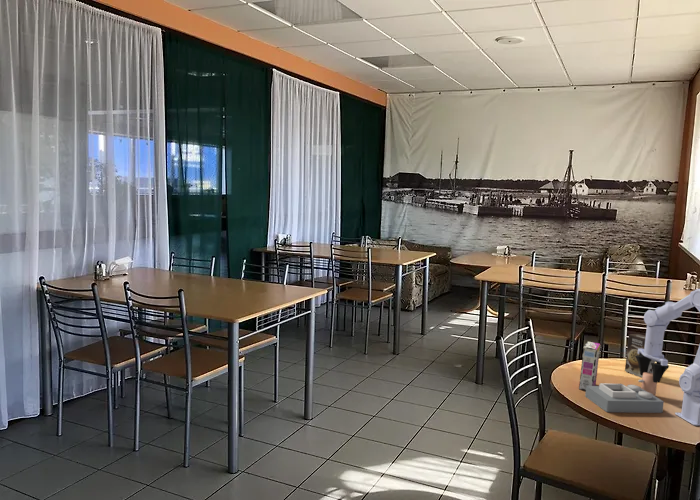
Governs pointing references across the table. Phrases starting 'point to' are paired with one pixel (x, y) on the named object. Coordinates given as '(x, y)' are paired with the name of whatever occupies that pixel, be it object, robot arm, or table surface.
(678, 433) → the table surface
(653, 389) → the peach tapered capsule
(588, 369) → the candy bar box
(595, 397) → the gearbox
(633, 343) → the coffee box
